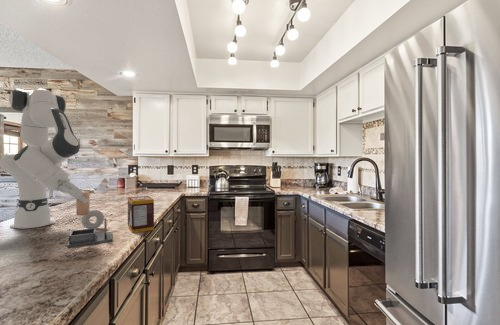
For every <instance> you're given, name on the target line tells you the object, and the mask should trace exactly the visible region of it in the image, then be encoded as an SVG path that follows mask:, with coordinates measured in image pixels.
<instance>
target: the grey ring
mask: <svg viewBox="0 0 500 325" xmlns="http://www.w3.org/2000/svg"><path fill="white" fill-rule="evenodd" d="M92 217H95V218H96V220H95V221H93V222H91V221H90V219H91V218H92ZM104 219H105V215H104V213H103V211H101V210H98V209H90V214H88V215H82V217H81V225H82V226H83V227H84V229H92V228H96V229H97V228H99V227H100V226H102V225H103V224H104Z"/></svg>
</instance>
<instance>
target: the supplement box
mask: <svg viewBox="0 0 500 325" xmlns="http://www.w3.org/2000/svg"><path fill="white" fill-rule="evenodd" d="M127 227H128V228H129V230H130V232H131V234H134V233H135V234H136V233H142V232H149V231H154V230H155V199H154V198H151V197H150V196H149V195H140V196H128V197H127Z"/></svg>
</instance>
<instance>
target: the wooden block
mask: <svg viewBox="0 0 500 325" xmlns="http://www.w3.org/2000/svg"><path fill="white" fill-rule="evenodd" d="M83 192H84V194H83V196H84V197H85V198H86V199H87V200H88V202H87V203H83V202H82V201H81V200H79V199H75V202H76V203H75V205H76V206H75V207H76V212H75V214H76V216H83V215H88V214H90V210H91V209H90V191H83Z"/></svg>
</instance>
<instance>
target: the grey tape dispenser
mask: <svg viewBox="0 0 500 325" xmlns="http://www.w3.org/2000/svg"><path fill="white" fill-rule="evenodd" d="M103 224H104V226H103V227H104V231H103V232H98V233H97V228H92V229H87V228H84V229H83V228H82V229H75V230H71V231H70V233H69V236H68V242H67V248H73V247H74V248H75V247H82V246H89V245H95V244H104V243H110V242H113V233H112V231H108V230H107V224H108V223H107V218H105V217H104V221H103Z"/></svg>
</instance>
